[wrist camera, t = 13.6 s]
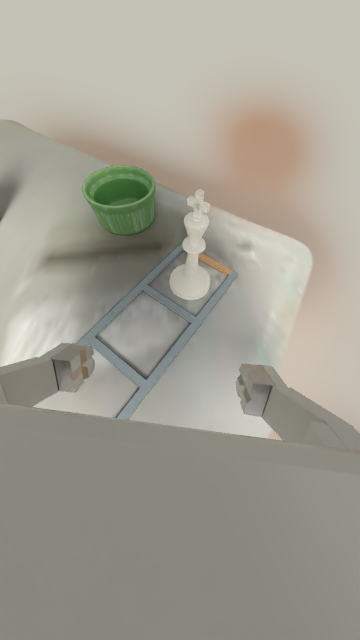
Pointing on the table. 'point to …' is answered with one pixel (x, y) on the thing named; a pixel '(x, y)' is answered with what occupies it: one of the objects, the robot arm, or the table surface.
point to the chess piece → (193, 253)
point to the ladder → (195, 321)
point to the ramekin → (121, 198)
